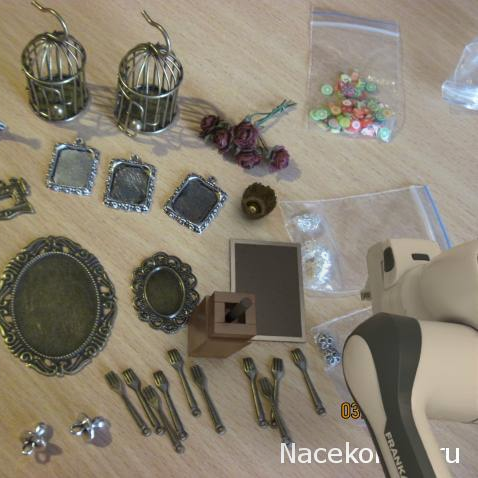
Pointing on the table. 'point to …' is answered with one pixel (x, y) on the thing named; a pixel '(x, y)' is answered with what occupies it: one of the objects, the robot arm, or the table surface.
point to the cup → (258, 201)
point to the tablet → (271, 287)
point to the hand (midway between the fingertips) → (369, 328)
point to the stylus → (238, 310)
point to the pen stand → (220, 326)
